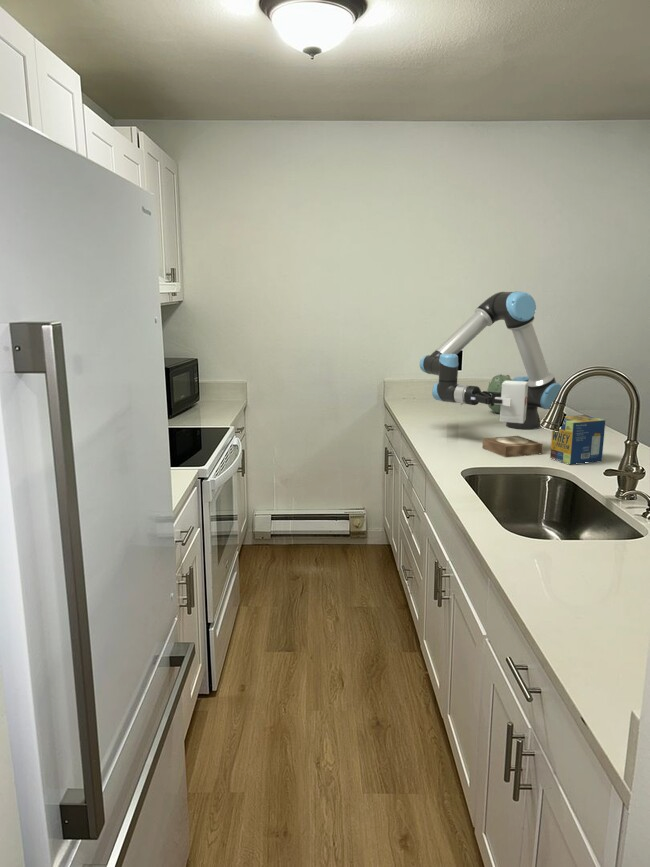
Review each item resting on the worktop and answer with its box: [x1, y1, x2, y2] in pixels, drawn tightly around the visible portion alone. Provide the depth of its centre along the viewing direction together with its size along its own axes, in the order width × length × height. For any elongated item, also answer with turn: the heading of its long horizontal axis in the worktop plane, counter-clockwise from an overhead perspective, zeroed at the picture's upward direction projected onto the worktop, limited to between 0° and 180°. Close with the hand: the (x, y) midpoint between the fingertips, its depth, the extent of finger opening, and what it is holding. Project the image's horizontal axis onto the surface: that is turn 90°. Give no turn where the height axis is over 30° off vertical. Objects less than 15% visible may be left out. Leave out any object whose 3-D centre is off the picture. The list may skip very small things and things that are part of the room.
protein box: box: [549, 414, 606, 465], centre depth 248 cm, size 10×15×16 cm
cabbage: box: [486, 373, 513, 414], centre depth 346 cm, size 16×19×20 cm
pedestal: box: [481, 435, 544, 458], centre depth 263 cm, size 16×16×4 cm
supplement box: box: [499, 380, 528, 423], centre depth 259 cm, size 9×9×15 cm
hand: (518, 400), depth 258 cm, fingers closed on supplement box, 11 cm apart
